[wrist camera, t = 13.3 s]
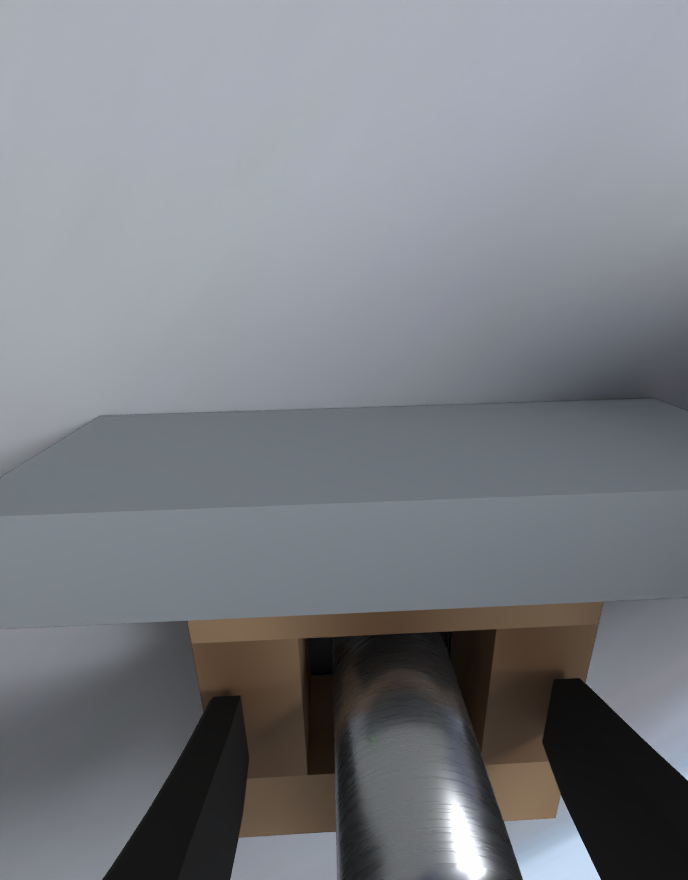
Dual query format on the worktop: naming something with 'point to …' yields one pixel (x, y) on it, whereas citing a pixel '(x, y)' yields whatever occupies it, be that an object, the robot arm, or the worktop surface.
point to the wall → (347, 512)
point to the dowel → (410, 767)
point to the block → (312, 712)
